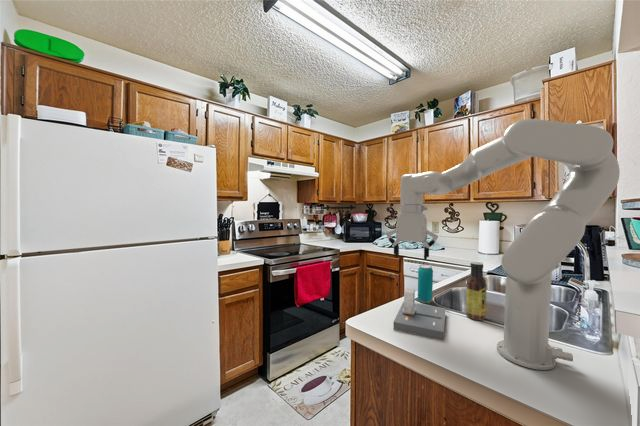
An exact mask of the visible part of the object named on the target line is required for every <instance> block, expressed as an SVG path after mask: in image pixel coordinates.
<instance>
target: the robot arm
mask: <svg viewBox="0 0 640 426" xmlns="http://www.w3.org/2000/svg"><path fill="white" fill-rule="evenodd" d="M614 143H615V142H614V138H613V136H612V134H610V133H609V131H607V130H606V129H604V128H601V127H599V126H595V125H589V124H582V123H572V122H563V121H556V120H547V119H546V120H545V119H538V118H537V119H536V118H526V119H525V118H524V119H520V120H518V121H515V122H514V123H512V124H511V125H509V126H508V127H507V128H506V130H505V131H504V133H503V135H502V136H500V137H498V138H495V139H493V140H492V141H489V142H488V143H485V144H483V145H481V146H479V147H477V148H474V149H473V150H472V151H470V153H469V154H468V155H467V157H466V158H465V160H464V161H462V162H461V163H459V164H458V165H455V166H454V167H452V168H450V169H447V170H446V171H443V172H440V171H439V172H438V171H433V170H432V171H431V170H430V171H426V172H421V173H408V174H407V173H406V174H404V175H402V176H401V178H400V205H399V207H400V210H399V211H400V212H399V213H398V214H397V220H396V227H395V228H394V229H393V230H391V231H388V232H387V233H386V234H385V235H386V237H387V239H388V241H389V242H390V243H391V244H392V246H393V255H394V257H395V258H398V257H399V256H400V245H399V243H400V242H410V243H422V244H423V246H424V248H423V260H427V259H428V258H429V257H430V248H431V247H432V246H433V245H434V244H435V243H436V242H437V239H438V238H439V236H438V234H436V233H434V232H432V231H430V230H428V223H427V222H428V221H427V216H426V213H425V211H428V206H427V205H426V206H425V205H424V195H433V196H441V195H442V196H443V195H446V194H448V193H451V192H454V191H457V190H459V189H462V188H464V187H466V186H468V185H470V184H473V183H474V182H475V183H476V182H477V181H479V180H481V179H483V178H485V177H487V176H489V175H491V174H494V173H496V172H499V171H501V170H503V169H506V168H509V167H511V166H513V165H515V164H518V163H521V162H523V161H525V160H529V159H530V158H532V157H533V158H537V159H543V160H548V161H553V162H556V163H557V162H559V163H562V164H564V165H565V167H566V168H567V169H568V172H569V173H568V177H567V179H566V180H565V181H564V183H563V184H562V185H561V187H560V188H559V189H558V191H557V192H556V193H555V194H554V196H553V197H552V199H551V200H550V201H549V202H548V203H547V205H545V207H544V208H542V209H541V210H539V211H538V212H536V213H535V214H534V215H533V216H532V217H531V219H530V220H529V221H528V222H527V223H526V225H525V226H524V227H523V229H522V230H521V231H520V233H519V234H518V235H517V236H516V238H515V239H514V240H513V241H512V243H510V245H509V246H508V247H507V249H506V250H505V252H504V253H503V255H502V257H501V268H502V270H503V273H504V274H505V275H506V277H505V292H504V293H505V295H504V320H503V321H504V322H503V325H504V326H503V340H500V341H498V342H497V343H496V351H498V353H499V354H500V356H502V357H503V358H505V359H507V360H508V361H509V362H512V363H514V364H516V365H519V366H522V367H525V368H529V369H532V370H540V371H549V370H552V369H554V368H555V367H556V364H557V363H556V360H557V359H559V360H560V359H561V360H563V361H568V362H573V361H574V356H573V354H572V353H571V352H566V351H563V348H561V347H556V346H555V347H554V346H552V345H550V343H549V338H550V337H549V336H550V335H549V333H550V315H551V314H550V309H551V308H550V307H551V294H552V293H551V292H552V290H551V289H552V274H553V272H554V270H555V269H556V268H557V267H558V266H559V265H560V264H561V263H562V262H563V260H565V259H566V257H567V256H568V255H569V254H570V253H571V252H572V251H573V250H574V249H575V247H576V246H577V245H578V244H579V243H580V241H581V240H582V238H583V236H584V235H585V232H586V225H587V224H588V223H589V222H590V221H591V219H592V218H593V217H594V216H595V215H596V214H597V213H598V211H599V210H600V209H601V207H603V205H604V204H605V203H606V202H607V200H608V199H609V198H610V196H611V195H612V194H613V193H614V191H615V189H616V187H617V185H618V183H619V181H620V180H619V179H620V173H621V172H620V165H619V161H618V159H617V158H616V155H615V154H614V153H613V149H614ZM392 235H395V239H394V238H393V236H392ZM428 236H430V237H431V238H432V239H431V240H430V241H427V238H428Z"/></svg>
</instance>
